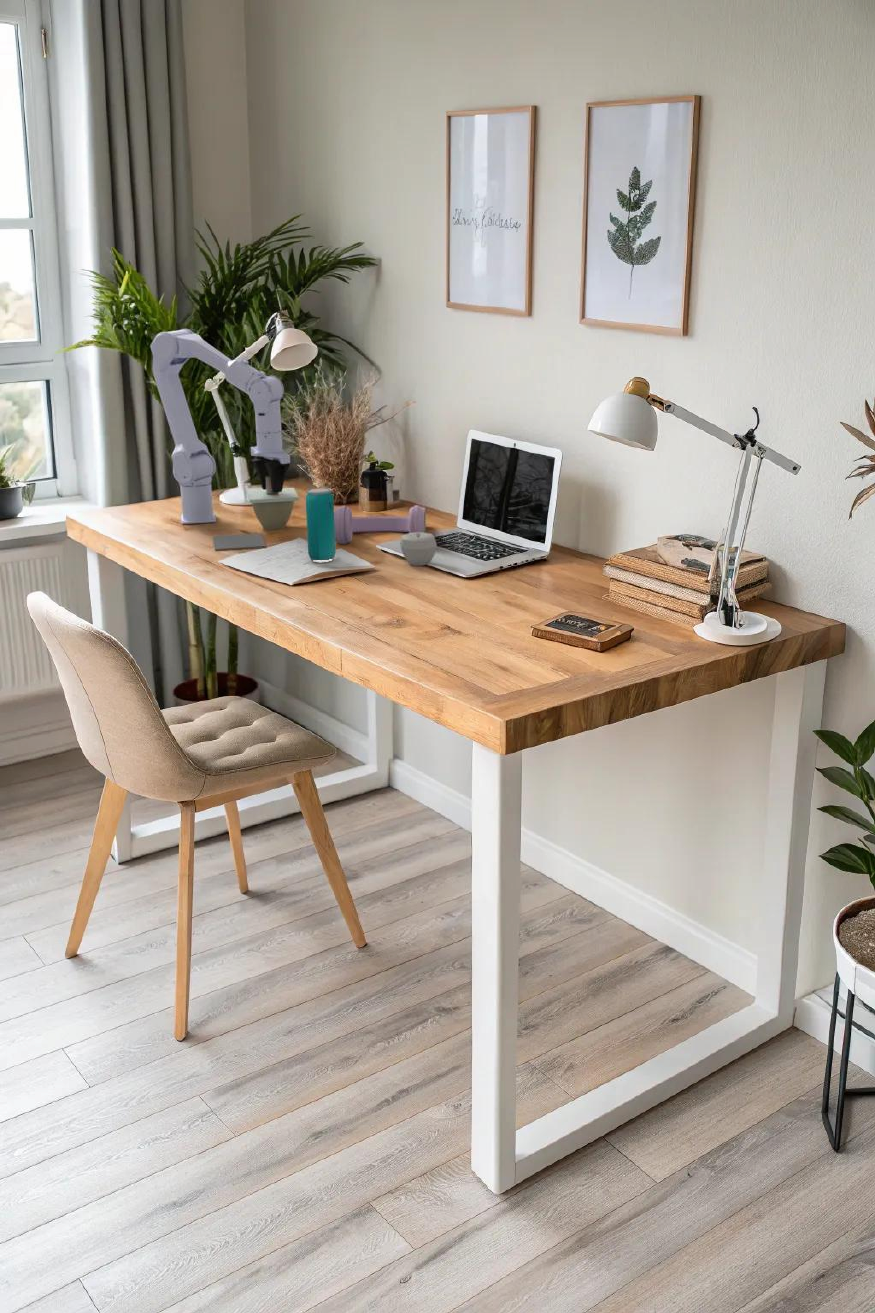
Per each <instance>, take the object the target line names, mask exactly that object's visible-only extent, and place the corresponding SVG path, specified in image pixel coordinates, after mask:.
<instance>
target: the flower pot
mask: <svg viewBox="0 0 875 1313" xmlns="http://www.w3.org/2000/svg"><path fill="white" fill-rule="evenodd" d="M294 503H295V501H283V502H266V503H251V505H252V509H253V512H254V514H255V517H256V518H257V521H258V522H259V524H260V525H261V526H262V528H263V529H265V530H282V529H284V528H286V526H287V525H288V522H289V521H290V518H291V515H292V512H293V508H294Z"/></svg>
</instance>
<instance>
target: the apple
mask: <svg viewBox="0 0 875 1313" xmlns="http://www.w3.org/2000/svg"><path fill="white" fill-rule="evenodd" d="M399 545H400V549H401V552H402V555H403V556H404V558H405V560H406V562H407V563H408V565H411V566H416V567H418V566H419V567H420V566H422V567H423V566H426V565H428V564H430V562H432V561H433V558H434V557H435V553H436V550H437V547H438V544H437V542H436V538H435V536H434V535H433V534H432V533H429V532H428V533H427V532H426V533H423V532H415V533H409V532H408V533H405V534H402V535H401V537H400V542H399Z"/></svg>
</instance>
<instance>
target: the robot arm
mask: <svg viewBox="0 0 875 1313" xmlns="http://www.w3.org/2000/svg"><path fill="white" fill-rule="evenodd" d="M149 347H150V350H151V354H152V375H153V377H154V381H155V384H156V387H157V388H156V389H157V391H158V394H159V397H160V400H161V404H162V407H163V410H164V412H165V416H166V420H167V422H168V425H169V429H170V432H171V435H172V439H173V441H174V445H175V447H174V450H173V451H172V453H171V455H170V456H171V459H172V474H173V477H174V479H175V480H176V481H177V482H178V485H179V486H180V499H181V511H182V512H181V514H180V519H181V524H182V525H188V524H189V525H190V524H204V523H206V524H207V523H216V522H217V519H216V515H215V512H214V507H213V506H214V505H213V494H212V493H213V492H212V491H213V490H212V480H213V479H212V477H213V476H214V474H215V473H216V469H217V465H216V461H215V459H214V457H213V456H212V455H211V453H210V452H209V449H208V446H207V445H206V444H205V443H203V442H202V441H201V440H200V439H199V437H198V434H197V429H196V428H195V425H194V420H193V417H192V415H191V412H190V408H189V405H188V401H187V399H186V395H185V391H184V388H183V386H182V381H181V378H180V376H179V374H180V371H181V370H182V368H183V366H184V364H185V363H187V361H189V360H190V359H192V358H195V359H198V360H200V361H201V362H203V363H205V364H207V365H208V366H210V367H212V368H214V369H216V370H218V371H220V372H221V373H223V374H224V377H225V380H226V382H228V383H230V384H231V385H233V386H234V387H236V388H237V389H239V390H241V391H242V392H243V393H245V394H247V395H248V396H249V399H250V401H251V402H252V404H253V410H254V416H255V432H256V434H255V435H256V445H255V446H251V447H250V456H252V457H256V458H253V459H251V462H250V463H252V465H253V468H254V469H255V470H256V474H257V475H258V479H259V482H260V486H261V488H262V489H263V490H266V479H265V477H266V476H270V482H271V488H272V492H273V493H277V492H282V488H283V487H284V482H285V477H286V474H287V472H288V470H289V467H290V466H291V454H288V453H287V452H286V451H285V450H284V449H283V437H282V436H283V435H282V417H281V415H282V414H281V399H283V396H284V395H285V394H284V393H285V388H284V385H283V382H282V380H281V379H279V378H278V377H277V375H268V376H267V375H266V372H264V371H263V370H257V369H256V368H255V367H253V366H252V365H250V364H249V361H248V360H247V359H244V358H243V359H240V358H238V359H231V358H229V357H228V356H227V355H225V354H223V353H222V352H221V351H219V350H218V349H217V348H215V347H214V346H212V345H211V344H209V343H208V342H207V341H205V340H204V339H203V338H202V337H201V335H199V334H198V333H195V332H193V331H192V330H190V329H189V328H182V329H179V330H172V331H161V332H159V333H157V334H156V335H155V337H154V338H153V340H152V342H151V344H150V346H149Z"/></svg>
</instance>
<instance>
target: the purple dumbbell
mask: <svg viewBox="0 0 875 1313" xmlns="http://www.w3.org/2000/svg"><path fill="white" fill-rule="evenodd" d="M426 521H427V518H426V507H422V506H420V505H416V504H415V505H414V506H411V507H410V508H409V510H408V516H353V513H352V510H351V508H350V507H347V506H346V505H341V506H339V507H334V523H335V543H338V544H340V545H347V544H349V543H351V542H352V539H353V533H375V532H379V533H380V532H390V533H391V532H394V533H408V534H409V533H415V532H423V533H427V530H426V529H427V528H426V527H427V525H426V524H427V523H426Z"/></svg>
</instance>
